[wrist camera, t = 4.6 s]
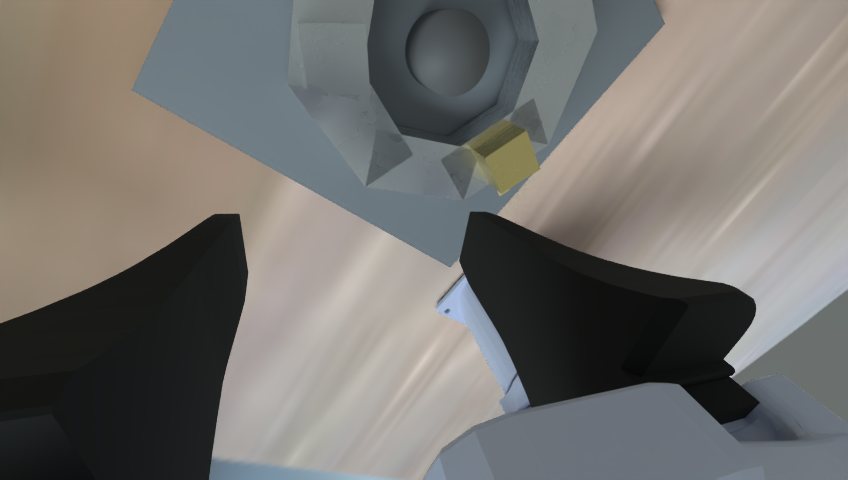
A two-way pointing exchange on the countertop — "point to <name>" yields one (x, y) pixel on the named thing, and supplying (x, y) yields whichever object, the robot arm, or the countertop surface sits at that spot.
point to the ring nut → (427, 152)
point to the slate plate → (391, 80)
